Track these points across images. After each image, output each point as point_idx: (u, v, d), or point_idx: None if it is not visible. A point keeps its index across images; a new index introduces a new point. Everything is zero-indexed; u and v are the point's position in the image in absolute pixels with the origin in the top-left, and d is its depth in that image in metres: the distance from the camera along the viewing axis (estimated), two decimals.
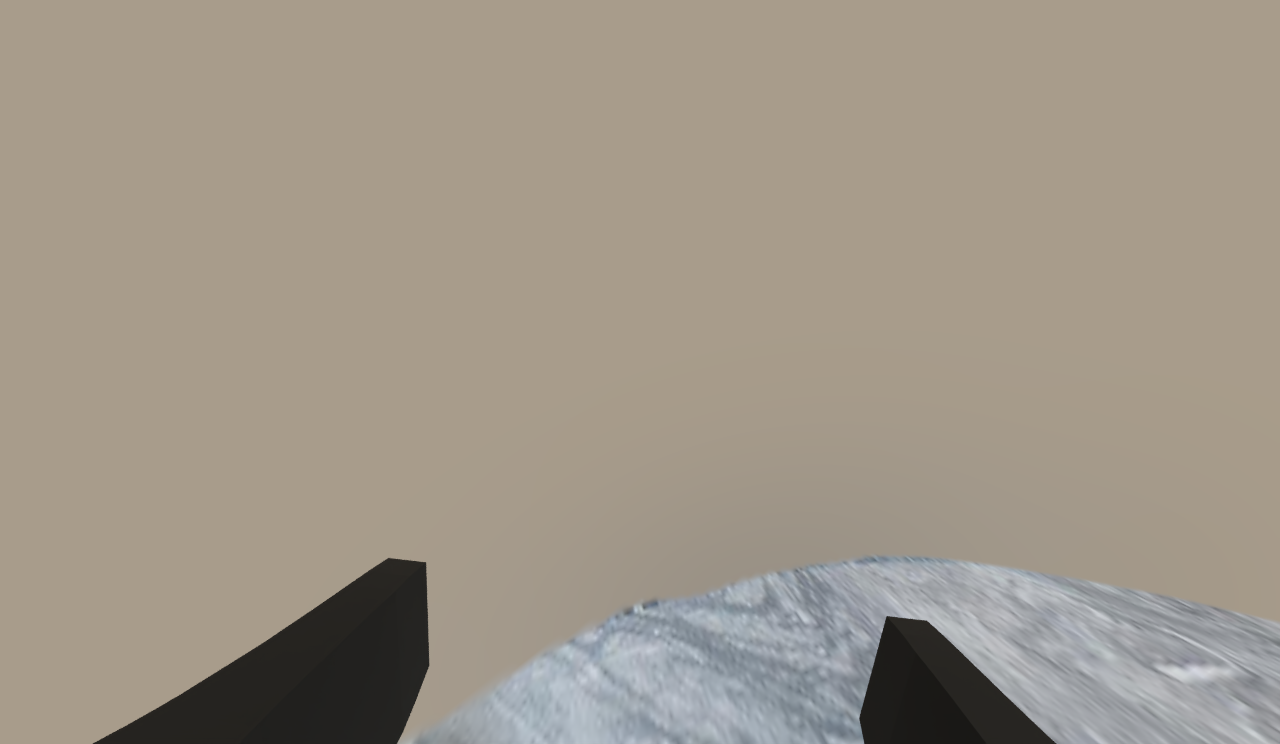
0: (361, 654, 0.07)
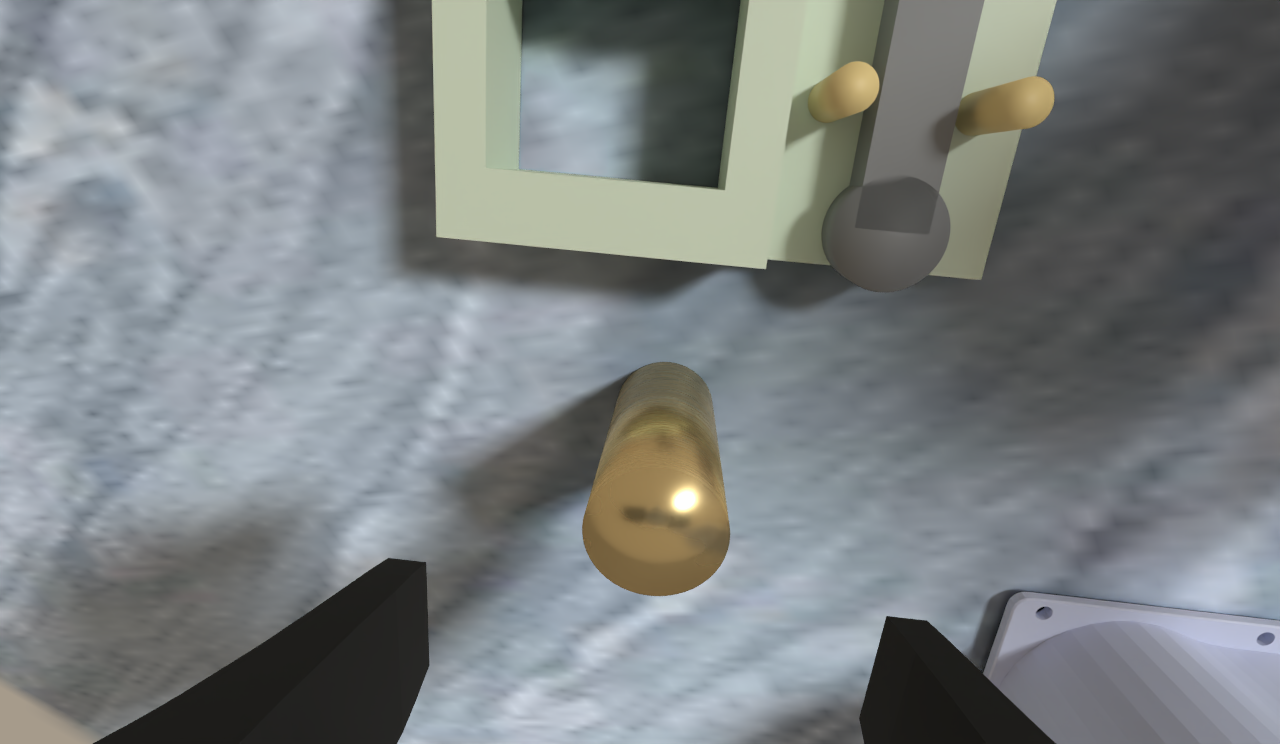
0: (361, 654, 0.07)
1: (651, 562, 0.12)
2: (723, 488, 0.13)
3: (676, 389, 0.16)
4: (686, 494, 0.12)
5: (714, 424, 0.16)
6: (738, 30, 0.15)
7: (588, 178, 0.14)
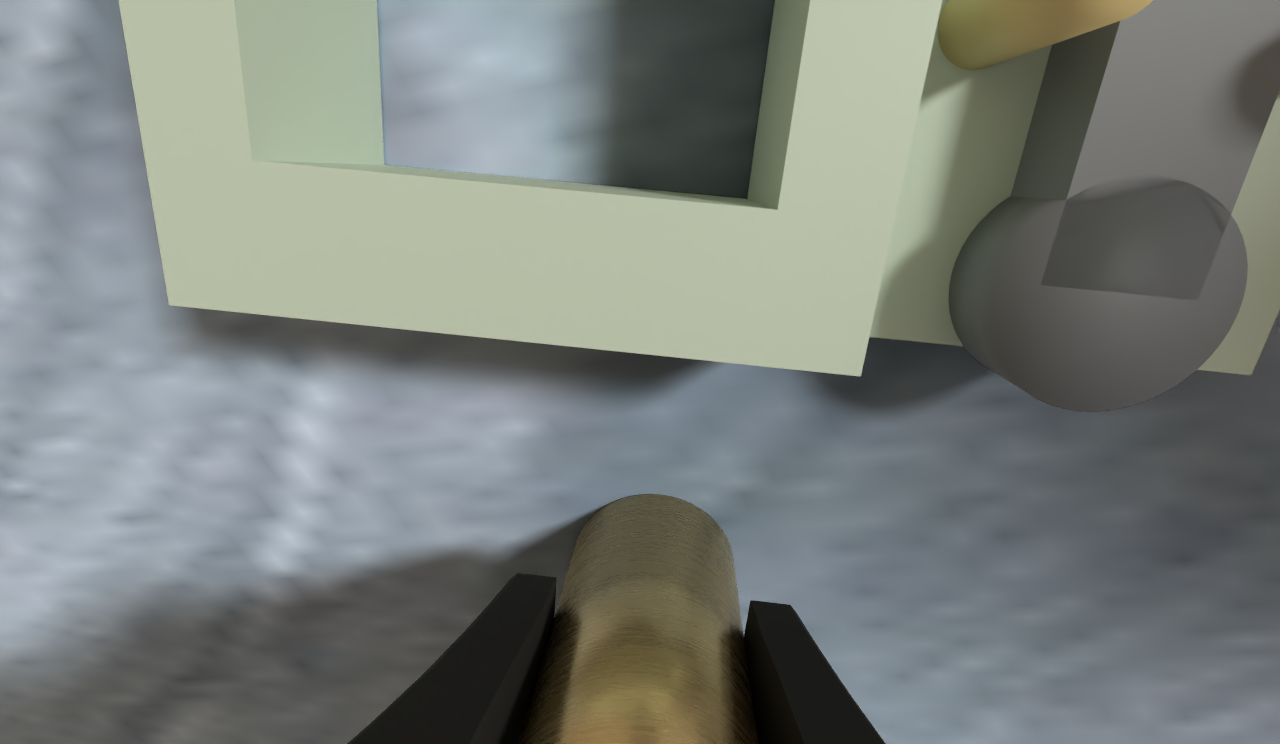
0: (521, 673, 0.07)
1: None
2: None
3: (671, 581, 0.08)
4: None
5: (742, 641, 0.09)
6: None
7: (476, 183, 0.06)
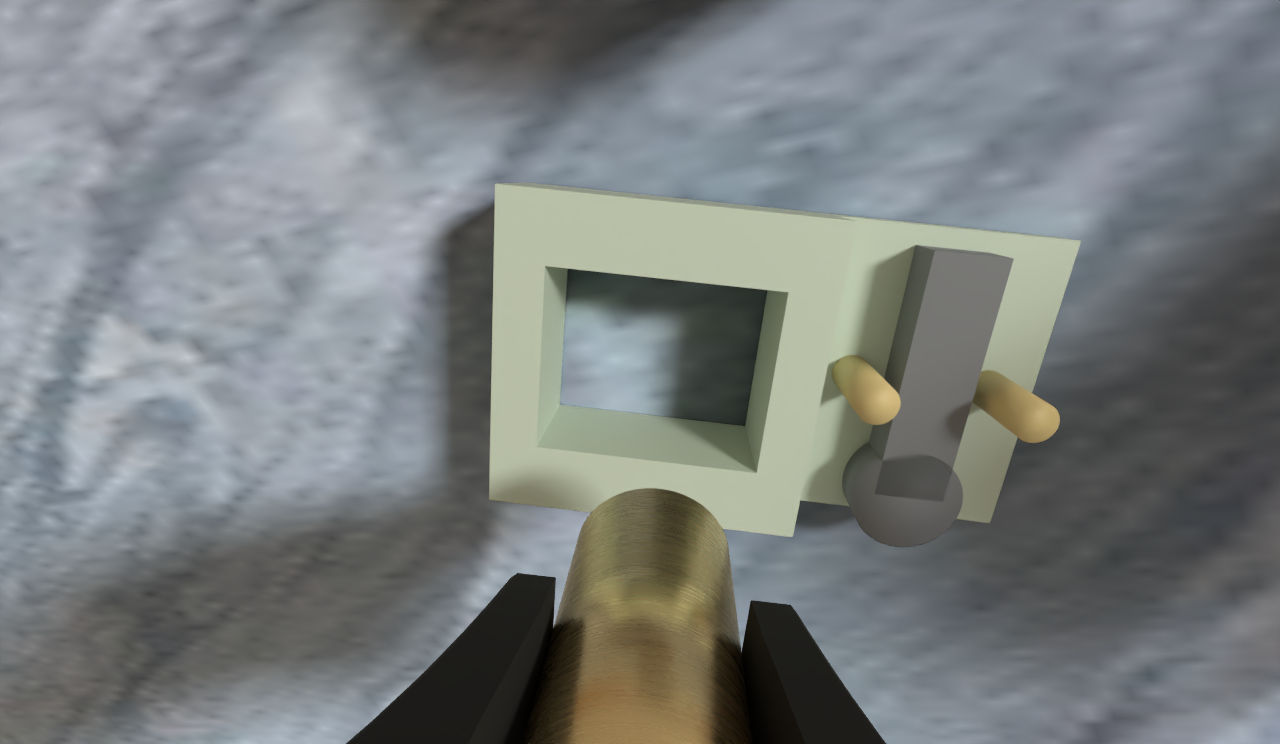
0: (520, 674, 0.07)
1: None
2: None
3: (665, 569, 0.09)
4: None
5: (735, 623, 0.09)
6: (768, 306, 0.16)
7: (631, 458, 0.15)
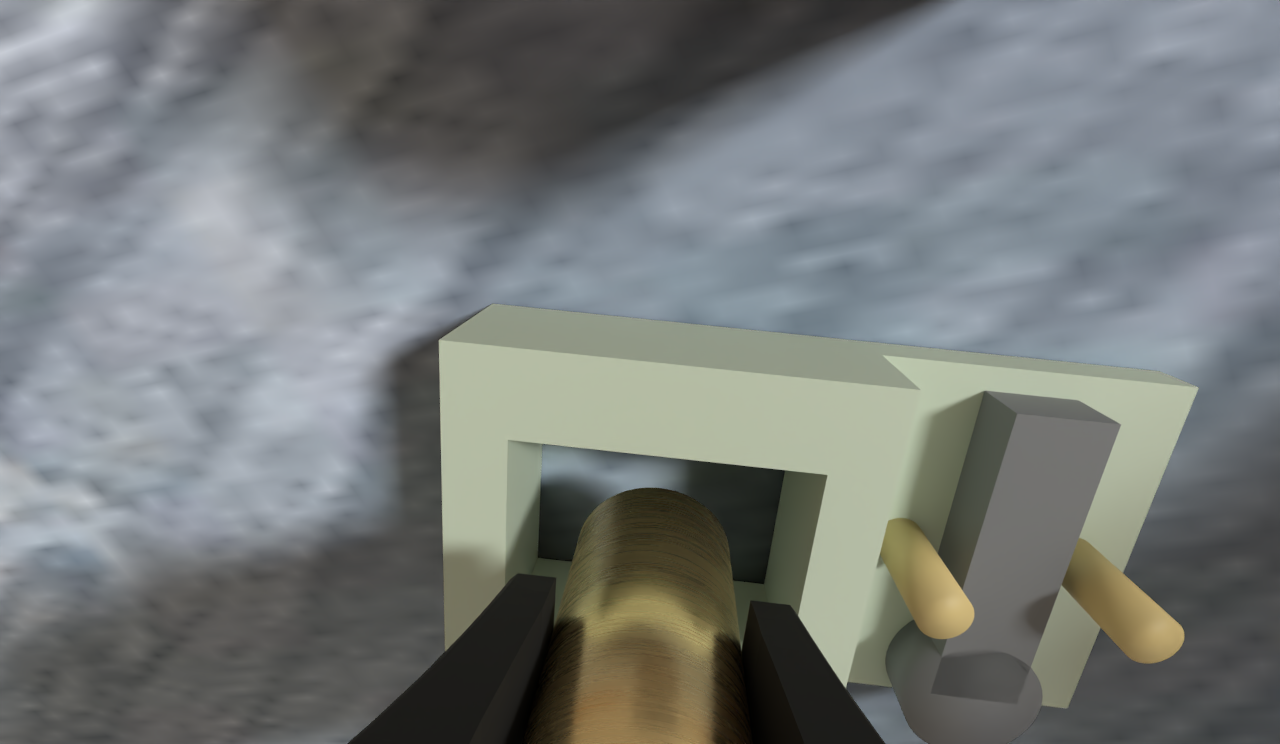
0: (521, 673, 0.07)
1: None
2: None
3: (665, 569, 0.09)
4: None
5: (735, 622, 0.09)
6: None
7: None
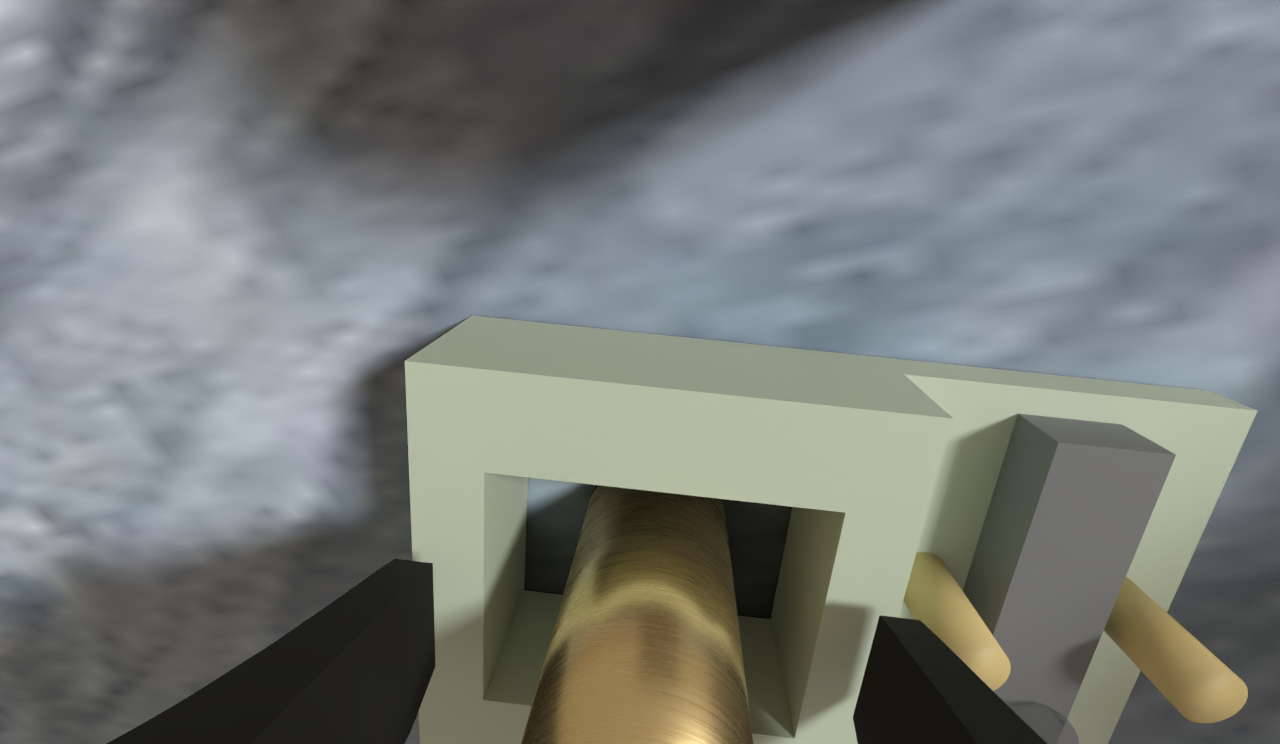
0: (369, 655, 0.07)
1: None
2: None
3: (667, 526, 0.10)
4: None
5: (730, 575, 0.10)
6: None
7: None
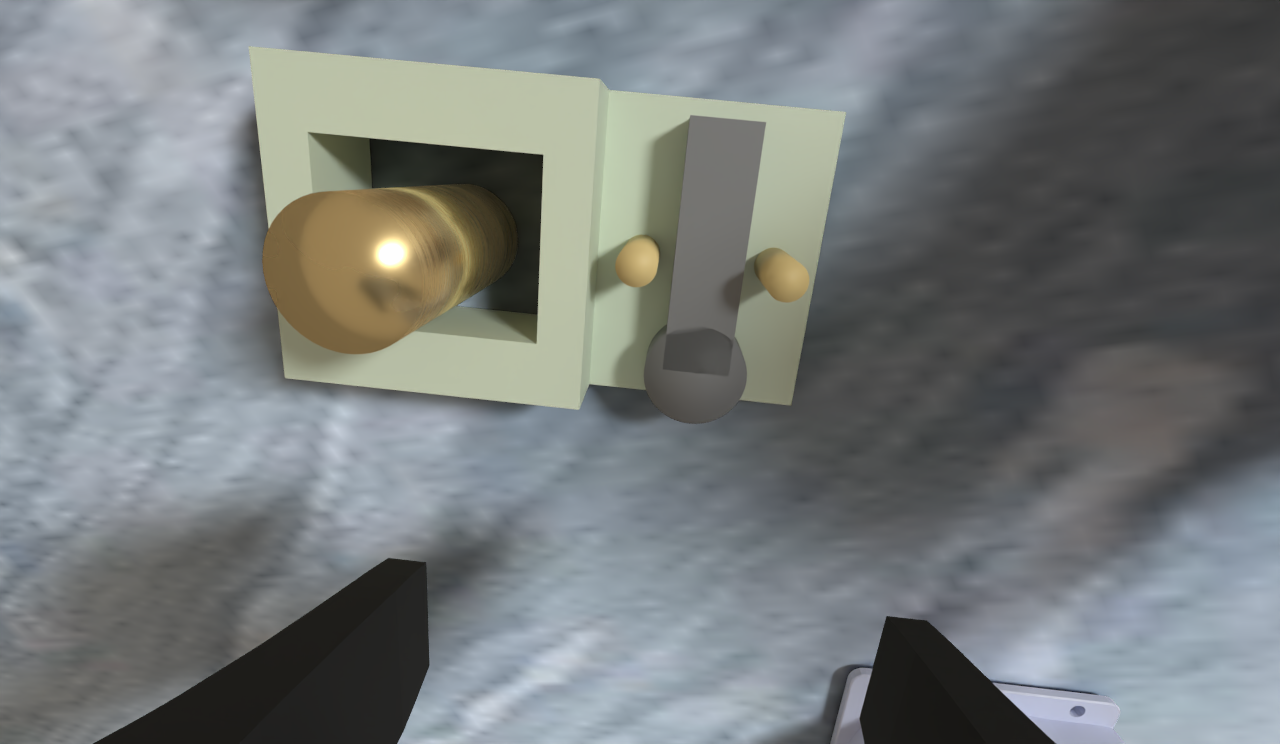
0: (361, 654, 0.07)
1: (345, 311, 0.11)
2: (437, 240, 0.12)
3: (442, 186, 0.15)
4: (364, 223, 0.11)
5: (488, 224, 0.15)
6: None
7: (415, 331, 0.16)
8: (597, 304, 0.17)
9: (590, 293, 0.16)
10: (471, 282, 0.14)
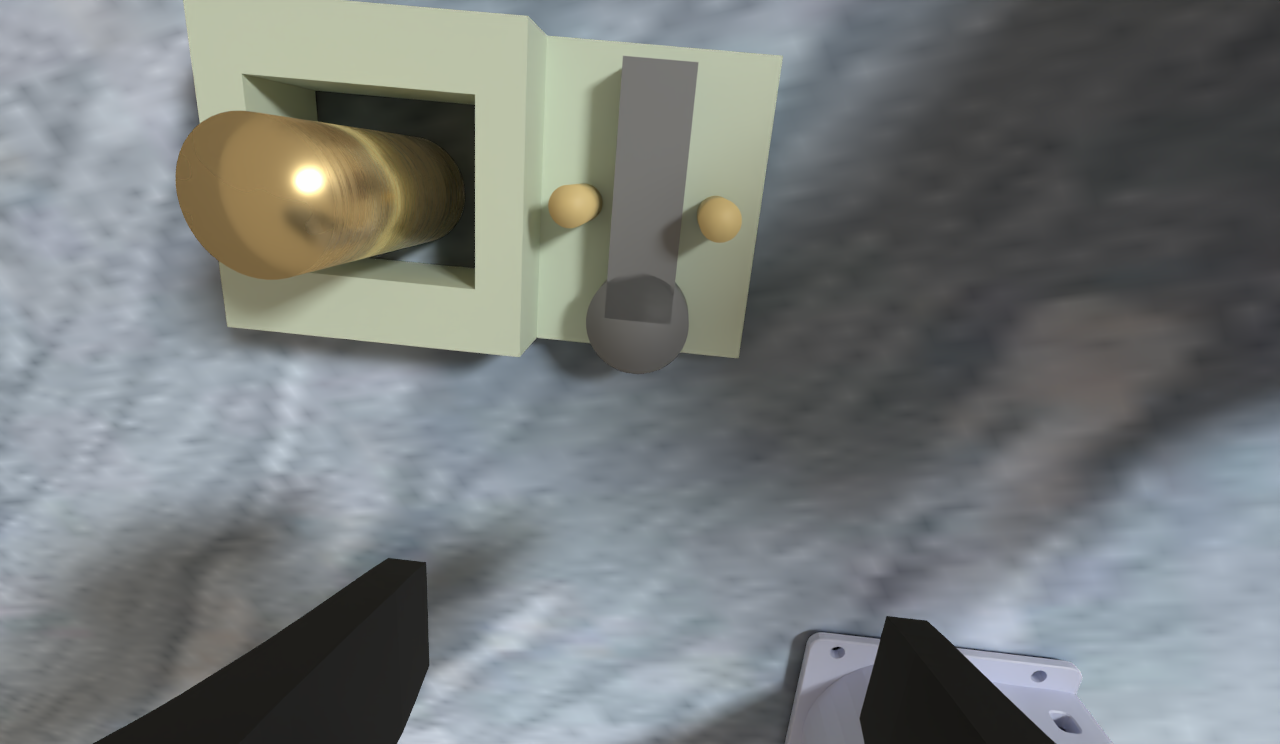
0: (361, 654, 0.07)
1: (259, 235, 0.11)
2: (356, 168, 0.12)
3: (379, 131, 0.15)
4: (274, 142, 0.11)
5: (426, 169, 0.15)
6: None
7: (355, 277, 0.16)
8: (542, 255, 0.17)
9: (530, 240, 0.16)
10: (403, 222, 0.14)
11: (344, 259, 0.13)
